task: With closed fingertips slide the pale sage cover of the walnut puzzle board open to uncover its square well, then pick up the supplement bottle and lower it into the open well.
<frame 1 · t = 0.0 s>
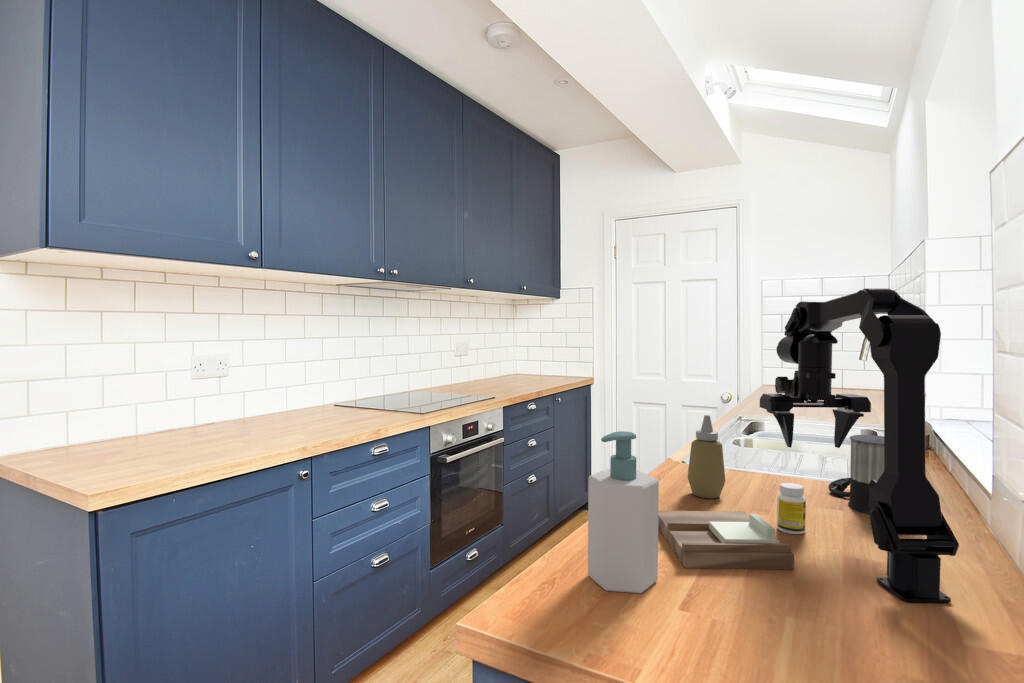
hand: (813, 447, 108), 15 cm above the counter, tool pointing down, fingers open, 9 cm apart
squeeze bottle: (705, 496, 126), on the counter
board: (717, 543, 98), on the counter
milk frother: (861, 503, 121), on the counter
cover: (741, 529, 94), point 4 cm above the counter, slide at 0.0 cm
supplement bottle: (790, 531, 105), on the counter
soap bottle: (622, 580, 84), on the counter
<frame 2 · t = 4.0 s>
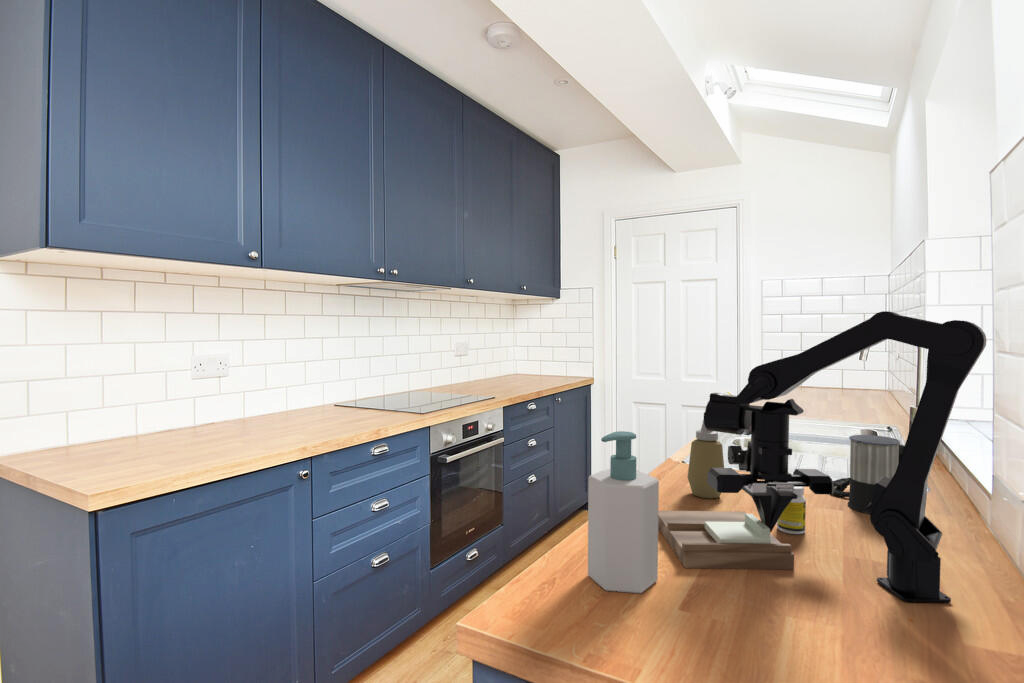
hand: (767, 531, 94), 4 cm above the counter, tool pointing down, fingers closed
cover: (736, 529, 94), point 4 cm above the counter, slide at 0.8 cm, touching gripper
everything else where it was.
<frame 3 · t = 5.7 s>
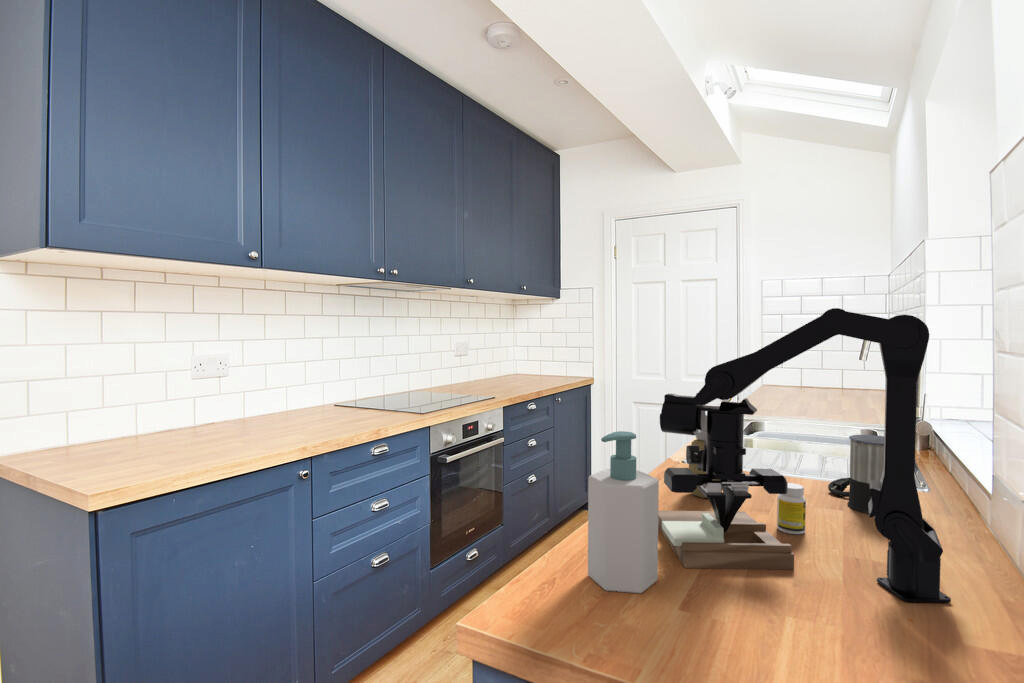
hand: (723, 531, 94), 4 cm above the counter, tool pointing down, fingers closed
cover: (691, 528, 94), point 4 cm above the counter, slide at 8.2 cm, touching gripper
everything else where it was.
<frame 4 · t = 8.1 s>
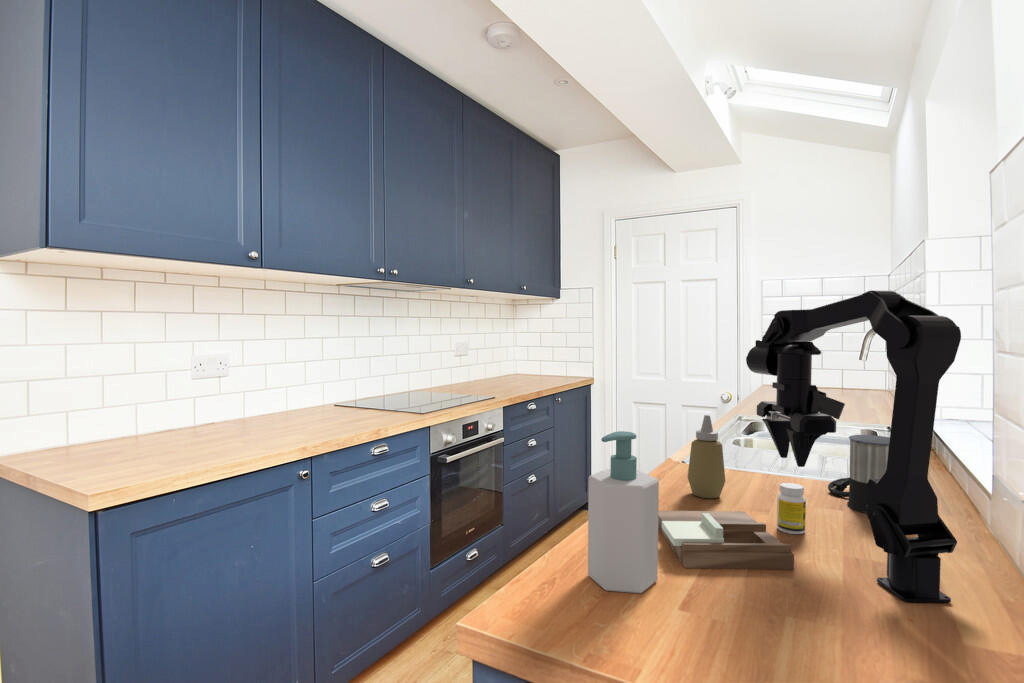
hand: (792, 462, 104), 13 cm above the counter, tool pointing down, fingers open, 6 cm apart
cover: (691, 528, 94), point 4 cm above the counter, slide at 8.2 cm
everything else where it was.
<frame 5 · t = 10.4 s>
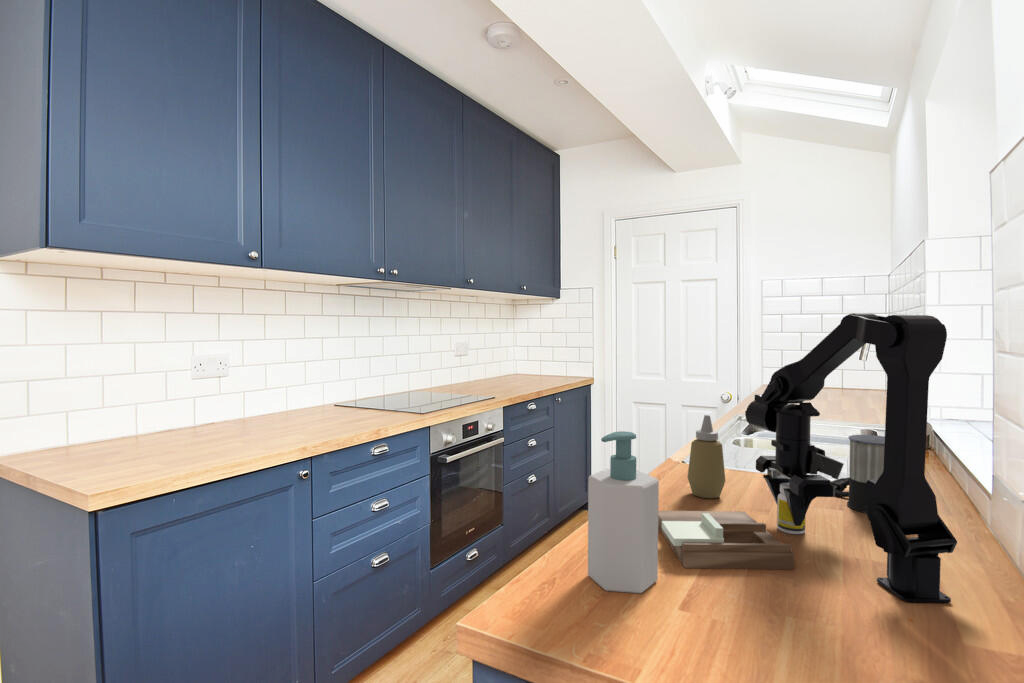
hand: (791, 520, 105), 2 cm above the counter, tool pointing down, fingers closed on supplement bottle, 5 cm apart
supplement bottle: (790, 531, 105), on the counter, touching gripper
everything else where it was.
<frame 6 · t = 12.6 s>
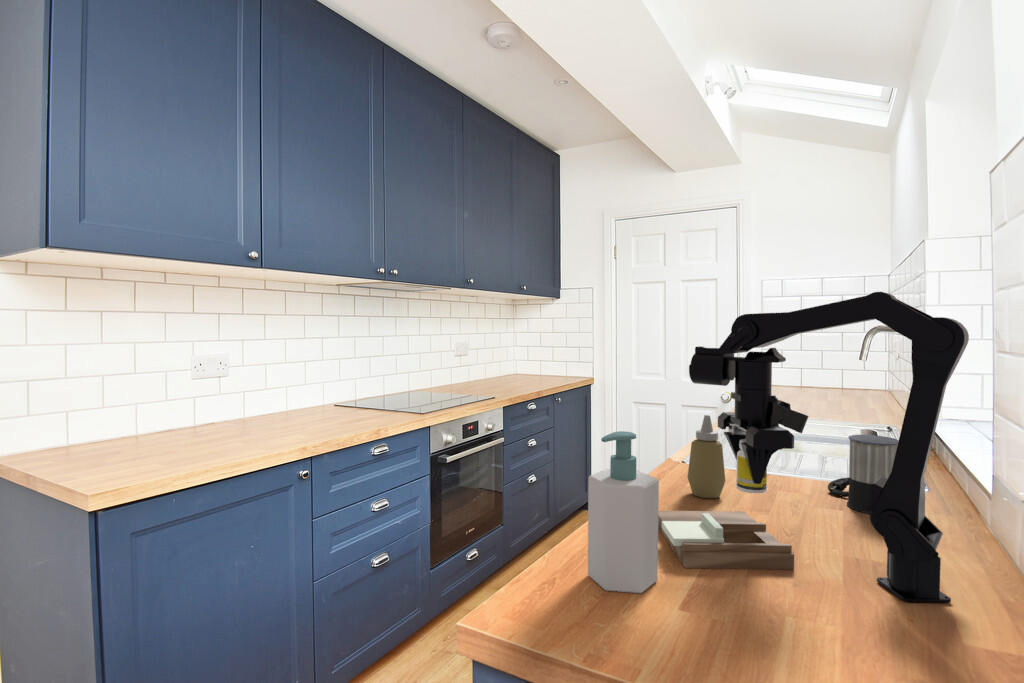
hand: (751, 479, 96), 12 cm above the counter, tool pointing down, fingers closed on supplement bottle, 5 cm apart
supplement bottle: (751, 491, 96), point 10 cm above the counter, touching gripper
everything else where it was.
when the fingers open (4 cm above the counter, at t = 15.1 s): supplement bottle drops 2 cm, resting on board.
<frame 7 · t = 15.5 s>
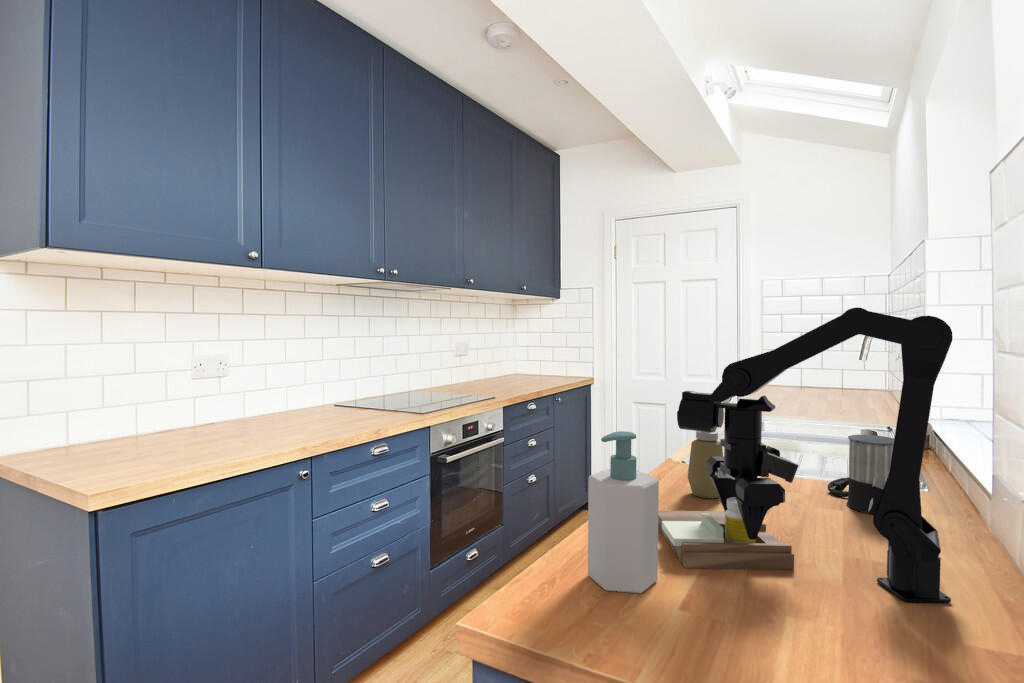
hand: (741, 528, 94), 4 cm above the counter, tool pointing down, fingers open, 9 cm apart
supplement bottle: (740, 551, 94), resting on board
everything else where it was.
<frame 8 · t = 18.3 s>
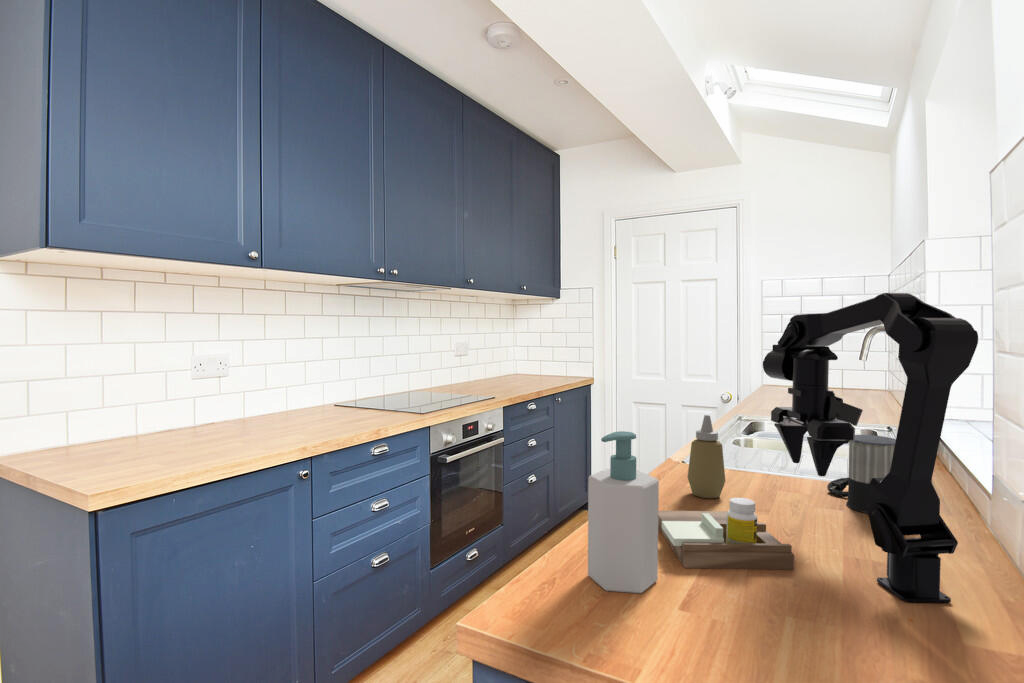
hand: (808, 469, 102), 12 cm above the counter, tool pointing down, fingers open, 9 cm apart
nothing on the counter moved.
at the end: cover slide at 8.2 cm; supplement bottle 0.0 cm from the target spot on the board, point 0.2 cm above the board's base; supplement bottle tilted 1° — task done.
